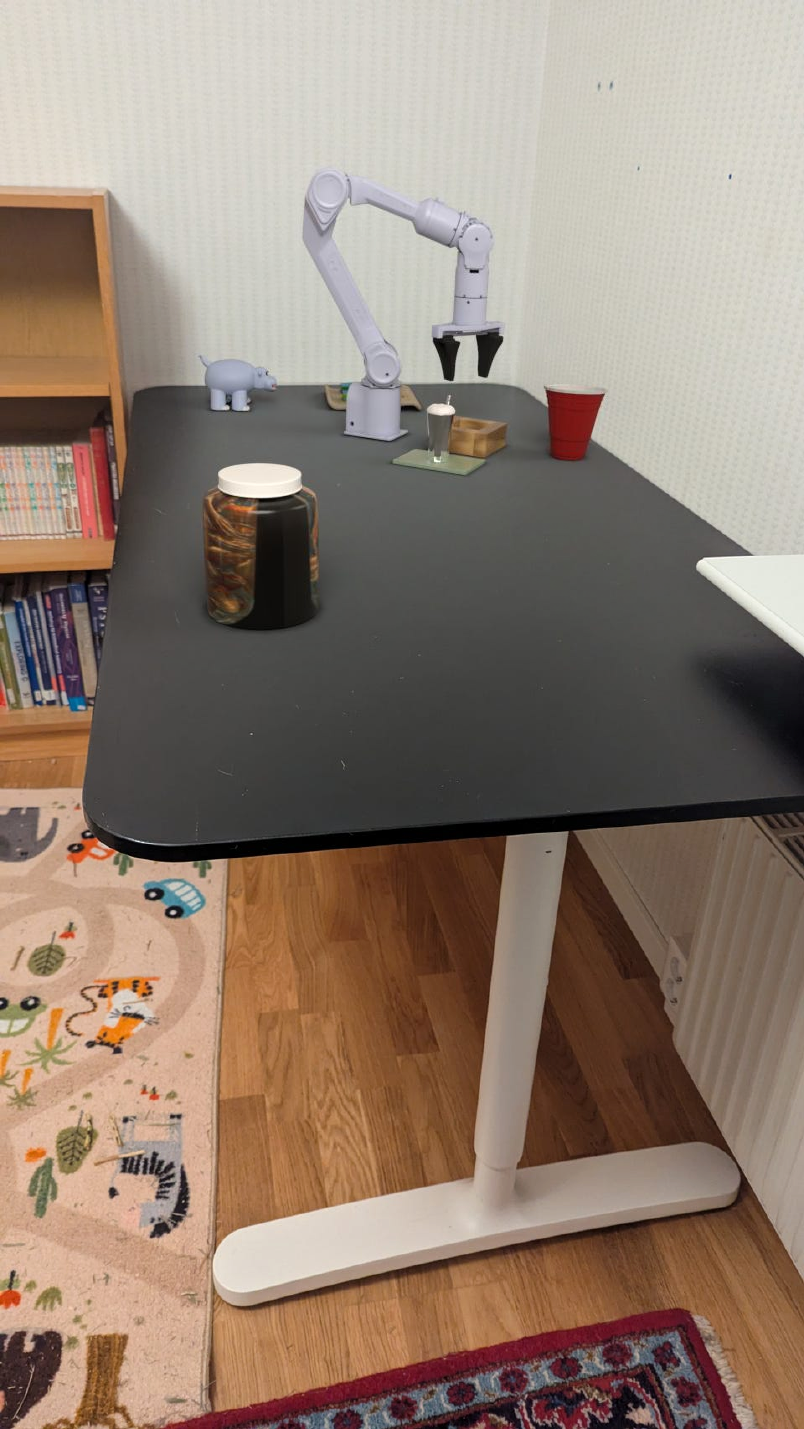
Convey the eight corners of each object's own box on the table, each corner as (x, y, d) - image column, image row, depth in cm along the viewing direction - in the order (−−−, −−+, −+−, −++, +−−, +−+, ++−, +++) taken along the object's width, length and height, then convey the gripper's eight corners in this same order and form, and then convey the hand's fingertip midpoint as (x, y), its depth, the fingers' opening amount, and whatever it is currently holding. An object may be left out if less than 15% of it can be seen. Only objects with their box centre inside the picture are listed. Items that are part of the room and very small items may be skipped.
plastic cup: (596, 450, 181) (605, 381, 176) (601, 466, 172) (611, 393, 166) (535, 446, 182) (543, 377, 176) (537, 461, 173) (544, 389, 167)
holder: (428, 449, 177) (430, 426, 175) (451, 437, 185) (452, 415, 183) (484, 458, 173) (486, 434, 171) (505, 445, 182) (507, 423, 180)
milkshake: (457, 458, 170) (462, 397, 165) (445, 465, 166) (449, 402, 161) (433, 454, 172) (436, 393, 167) (420, 461, 167) (423, 398, 162)
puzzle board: (323, 393, 216) (323, 376, 215) (411, 394, 219) (412, 378, 217) (327, 410, 201) (327, 392, 200) (422, 412, 203) (423, 394, 202)
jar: (271, 640, 104) (268, 496, 96) (185, 613, 109) (176, 475, 102) (338, 605, 112) (340, 471, 105) (255, 582, 118) (252, 452, 111)
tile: (392, 463, 167) (392, 460, 167) (414, 452, 175) (414, 448, 174) (465, 475, 163) (465, 471, 163) (485, 463, 170) (485, 459, 170)
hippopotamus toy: (277, 412, 198) (276, 361, 193) (199, 410, 196) (196, 359, 191) (277, 401, 207) (276, 352, 203) (202, 399, 205) (200, 350, 201)
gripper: (489, 292, 181) (484, 371, 188) (422, 295, 174) (419, 377, 180) (514, 297, 176) (508, 378, 182) (446, 300, 169) (442, 384, 175)
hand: (465, 378), depth 181 cm, fingers open, 7 cm apart
